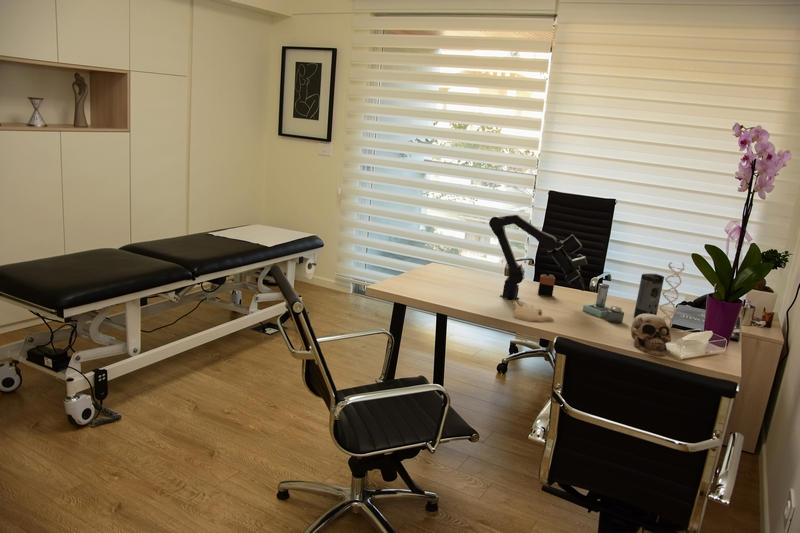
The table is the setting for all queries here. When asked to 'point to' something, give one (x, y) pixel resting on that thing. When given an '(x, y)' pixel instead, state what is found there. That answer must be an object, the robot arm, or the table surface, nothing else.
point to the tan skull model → (650, 334)
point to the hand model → (529, 313)
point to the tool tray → (594, 310)
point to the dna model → (671, 289)
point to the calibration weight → (614, 315)
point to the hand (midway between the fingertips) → (584, 288)
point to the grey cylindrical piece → (601, 297)
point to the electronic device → (649, 294)
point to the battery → (546, 285)
